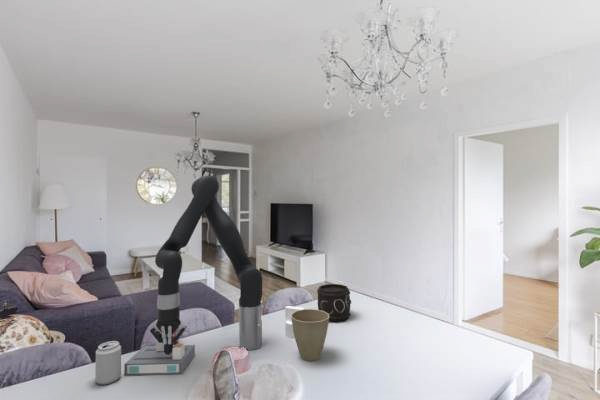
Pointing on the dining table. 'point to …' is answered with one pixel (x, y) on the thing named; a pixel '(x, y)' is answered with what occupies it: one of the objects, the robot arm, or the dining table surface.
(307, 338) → the plant pot
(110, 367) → the can
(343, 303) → the dark brown cylinder
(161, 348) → the slider
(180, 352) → the slider
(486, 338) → the dining table surface
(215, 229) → the robot arm
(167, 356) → the console
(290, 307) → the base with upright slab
